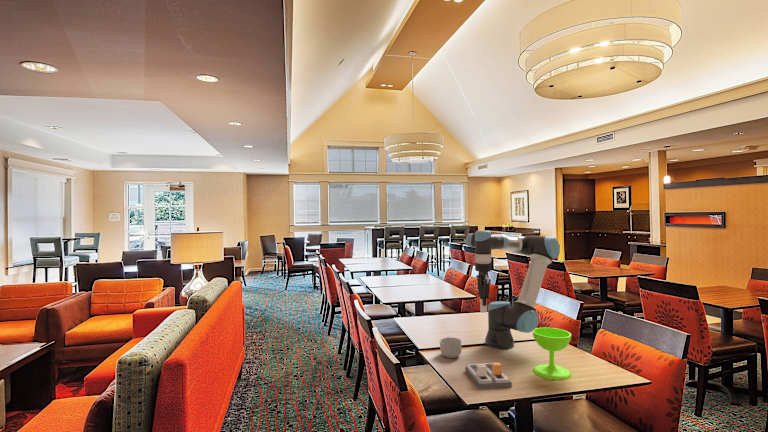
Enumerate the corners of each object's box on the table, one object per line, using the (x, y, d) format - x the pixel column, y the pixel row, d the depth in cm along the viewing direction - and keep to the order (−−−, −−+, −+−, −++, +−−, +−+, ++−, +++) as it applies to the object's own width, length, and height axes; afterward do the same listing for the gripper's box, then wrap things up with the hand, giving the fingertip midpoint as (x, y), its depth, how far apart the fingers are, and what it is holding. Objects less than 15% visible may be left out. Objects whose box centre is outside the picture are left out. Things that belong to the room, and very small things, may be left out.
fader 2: (499, 374, 168) (499, 362, 168) (502, 377, 165) (501, 364, 165) (492, 374, 167) (491, 362, 167) (494, 377, 164) (494, 365, 164)
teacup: (461, 360, 190) (461, 344, 190) (439, 359, 192) (438, 343, 192) (461, 351, 204) (461, 335, 204) (440, 349, 206) (440, 334, 206)
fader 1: (484, 376, 166) (484, 363, 166) (486, 378, 163) (486, 366, 163) (476, 376, 166) (476, 363, 166) (479, 379, 163) (479, 366, 163)
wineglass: (527, 365, 183) (527, 327, 183) (562, 365, 183) (562, 327, 183) (540, 380, 167) (540, 338, 167) (578, 380, 167) (578, 338, 167)
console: (495, 369, 179) (495, 362, 179) (511, 386, 161) (511, 379, 161) (465, 371, 177) (465, 364, 177) (478, 388, 159) (478, 380, 159)
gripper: (471, 261, 193) (471, 308, 193) (480, 264, 181) (480, 315, 181) (485, 261, 194) (486, 308, 194) (496, 264, 181) (496, 315, 181)
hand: (483, 311), depth 187 cm, fingers closed
